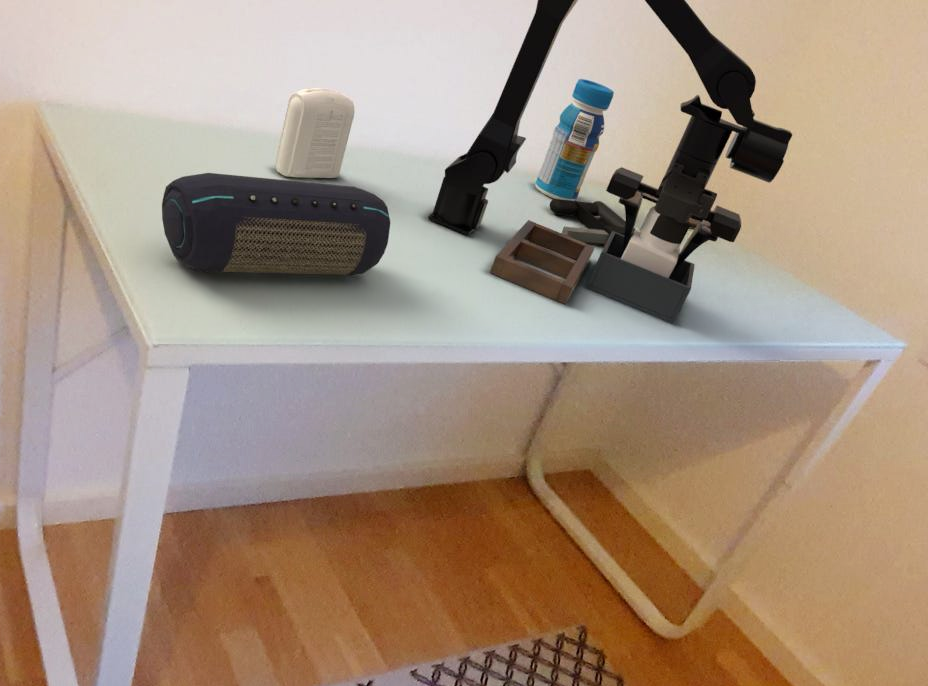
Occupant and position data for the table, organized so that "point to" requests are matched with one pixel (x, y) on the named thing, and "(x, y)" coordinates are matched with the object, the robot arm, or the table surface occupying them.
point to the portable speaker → (273, 225)
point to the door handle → (589, 220)
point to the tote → (640, 282)
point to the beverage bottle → (574, 141)
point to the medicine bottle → (656, 243)
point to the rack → (543, 261)
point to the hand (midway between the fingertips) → (648, 259)
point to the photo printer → (315, 134)
